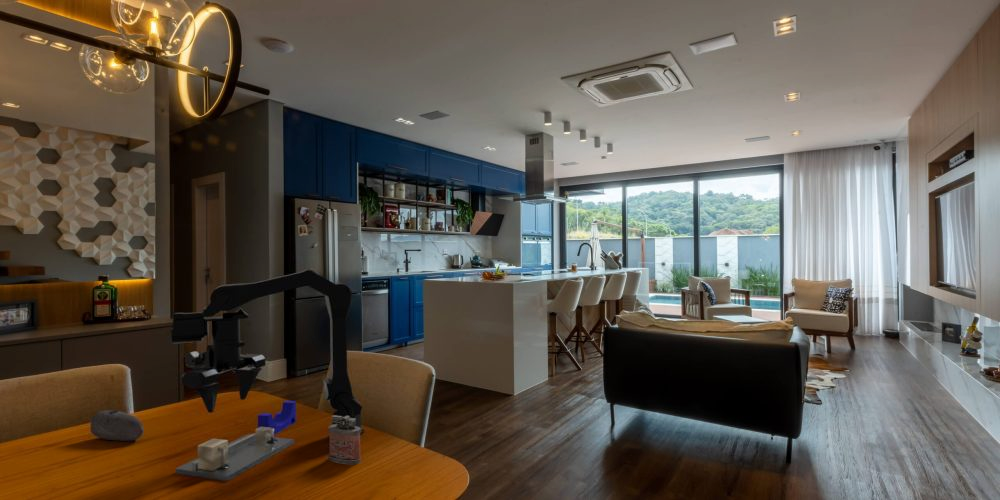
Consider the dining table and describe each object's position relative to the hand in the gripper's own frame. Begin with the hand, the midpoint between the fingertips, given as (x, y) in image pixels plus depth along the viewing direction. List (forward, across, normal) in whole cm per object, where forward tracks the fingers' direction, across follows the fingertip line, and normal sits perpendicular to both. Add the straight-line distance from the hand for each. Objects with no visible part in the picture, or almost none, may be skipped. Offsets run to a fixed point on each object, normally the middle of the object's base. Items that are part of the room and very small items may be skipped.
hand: (227, 405), depth 109 cm
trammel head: (+11, +6, +3) cm, 13 cm away
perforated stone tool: (+12, -3, -37) cm, 39 cm away
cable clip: (+13, -18, -2) cm, 22 cm away
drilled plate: (+12, -1, +2) cm, 12 cm away
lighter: (+13, -5, +27) cm, 31 cm away
